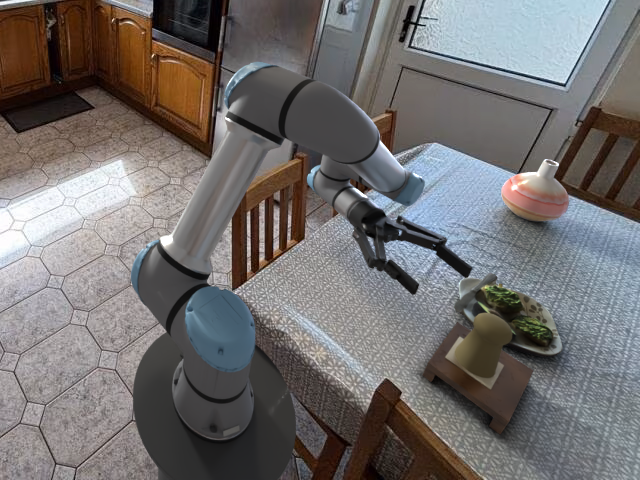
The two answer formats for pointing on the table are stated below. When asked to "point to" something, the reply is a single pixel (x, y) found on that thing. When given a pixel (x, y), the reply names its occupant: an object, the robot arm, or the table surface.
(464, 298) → the salad plate
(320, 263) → the table surface
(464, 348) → the cork
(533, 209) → the vase
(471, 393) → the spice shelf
